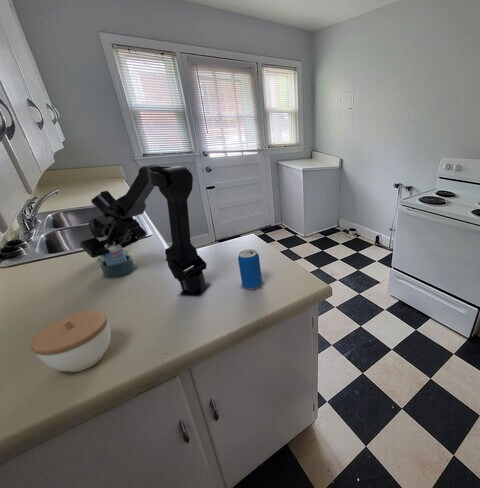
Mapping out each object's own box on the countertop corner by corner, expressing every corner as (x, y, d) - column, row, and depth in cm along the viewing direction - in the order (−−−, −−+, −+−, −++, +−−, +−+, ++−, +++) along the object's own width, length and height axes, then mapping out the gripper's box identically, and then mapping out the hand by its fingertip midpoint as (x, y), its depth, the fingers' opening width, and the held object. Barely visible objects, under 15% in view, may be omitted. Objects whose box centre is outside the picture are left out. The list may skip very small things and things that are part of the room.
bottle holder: (140, 265, 104) (137, 255, 103) (122, 278, 96) (117, 267, 94) (118, 264, 105) (114, 254, 103) (97, 277, 97) (93, 266, 95)
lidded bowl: (43, 393, 55) (17, 353, 50) (53, 354, 64) (32, 317, 60) (119, 363, 61) (102, 325, 57) (118, 332, 71) (103, 297, 66)
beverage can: (266, 282, 92) (262, 250, 87) (254, 292, 87) (249, 259, 82) (251, 278, 94) (246, 247, 90) (238, 287, 89) (232, 255, 84)
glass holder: (123, 249, 118) (112, 217, 112) (129, 260, 108) (117, 225, 102) (99, 255, 113) (85, 222, 107) (103, 267, 103) (88, 231, 97)
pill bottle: (113, 274, 96) (102, 245, 92) (106, 269, 99) (94, 242, 95) (132, 266, 101) (122, 239, 96) (124, 263, 104) (114, 236, 99)
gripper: (131, 201, 97) (120, 227, 105) (71, 217, 81) (64, 245, 89) (153, 224, 98) (141, 247, 106) (97, 244, 82) (88, 270, 90)
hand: (110, 251), depth 98 cm, fingers closed on pill bottle, 6 cm apart
